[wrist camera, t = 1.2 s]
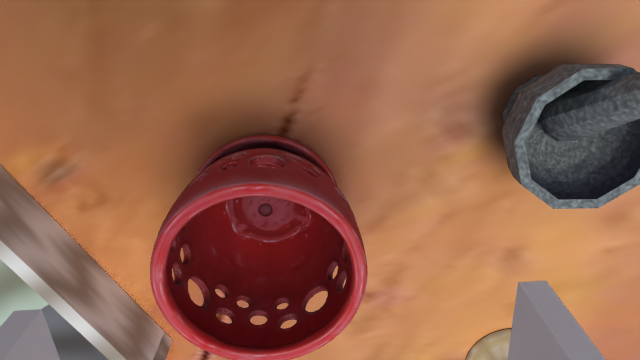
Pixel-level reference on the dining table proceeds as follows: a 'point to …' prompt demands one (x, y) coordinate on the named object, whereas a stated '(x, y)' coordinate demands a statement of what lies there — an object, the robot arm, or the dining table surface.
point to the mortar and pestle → (575, 134)
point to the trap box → (67, 287)
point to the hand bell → (491, 347)
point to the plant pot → (260, 252)
